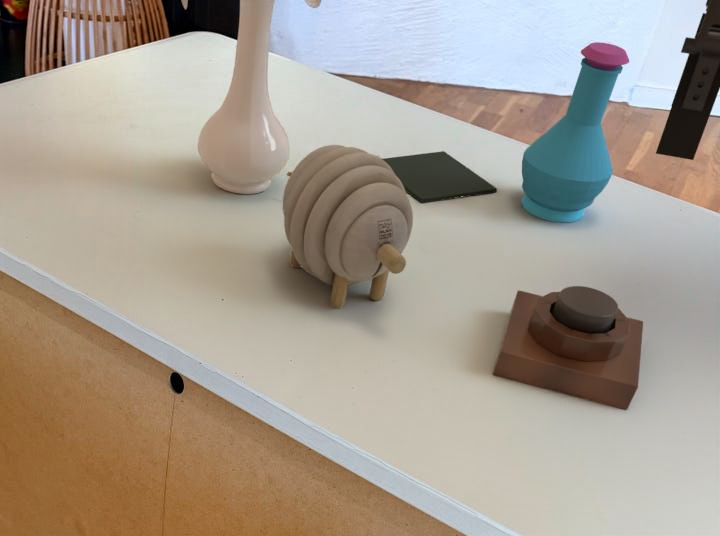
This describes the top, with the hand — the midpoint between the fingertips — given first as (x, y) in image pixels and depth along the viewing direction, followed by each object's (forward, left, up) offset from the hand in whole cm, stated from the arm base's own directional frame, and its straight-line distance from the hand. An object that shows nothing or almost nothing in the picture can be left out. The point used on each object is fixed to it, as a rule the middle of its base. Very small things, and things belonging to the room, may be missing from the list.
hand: (681, 130), depth 73 cm
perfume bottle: (+19, -9, -16) cm, 26 cm away
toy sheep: (+12, +23, -16) cm, 30 cm away
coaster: (+29, 0, -15) cm, 32 cm away
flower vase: (+33, +22, -16) cm, 42 cm away
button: (-5, +10, -12) cm, 16 cm away
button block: (-5, +10, -15) cm, 19 cm away
